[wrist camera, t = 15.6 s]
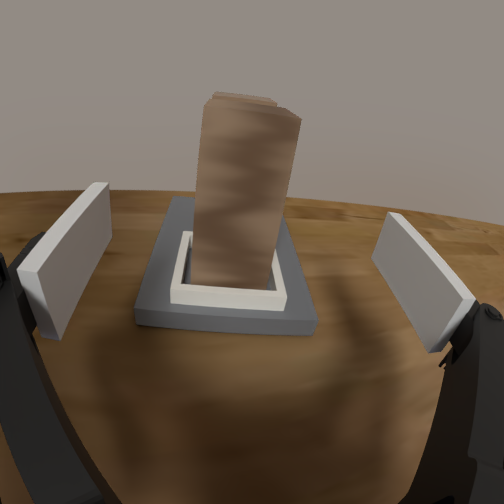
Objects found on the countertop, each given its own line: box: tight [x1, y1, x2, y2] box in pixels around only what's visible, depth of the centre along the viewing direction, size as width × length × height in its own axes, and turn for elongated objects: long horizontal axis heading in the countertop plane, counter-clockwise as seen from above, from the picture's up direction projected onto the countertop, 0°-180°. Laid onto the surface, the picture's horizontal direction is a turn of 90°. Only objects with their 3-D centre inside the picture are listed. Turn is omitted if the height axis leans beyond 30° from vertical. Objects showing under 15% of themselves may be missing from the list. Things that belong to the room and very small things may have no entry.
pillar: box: [190, 99, 301, 290], centre depth 20 cm, size 5×5×12 cm
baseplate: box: [134, 92, 319, 336], centre depth 24 cm, size 12×18×14 cm, turn 4°
